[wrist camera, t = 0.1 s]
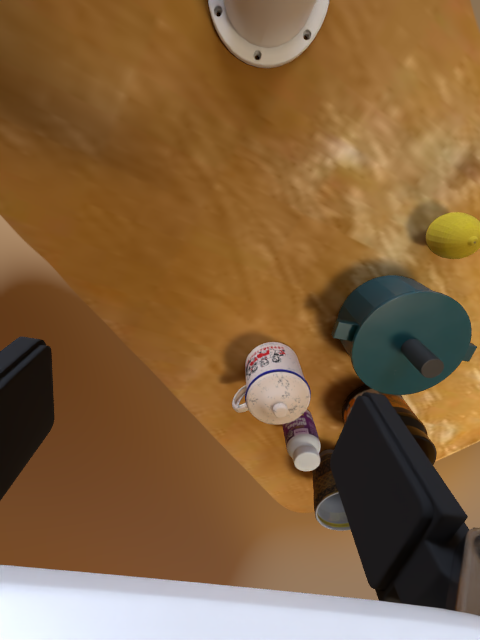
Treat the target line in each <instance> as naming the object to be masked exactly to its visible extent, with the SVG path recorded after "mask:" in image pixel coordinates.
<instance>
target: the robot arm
mask: <svg viewBox="0 0 480 640" xmlns="http://www.w3.org/2000/svg"><path fill="white" fill-rule="evenodd" d="M208 4H209V9H210V14H211V18H212V21H213V24H214V27H215V29H216V31H217V33H218V35H219V37H220V39H221V41H222V42H223V43H224V45H225V46H226V47H227V49H228V50H229V51H230V52H231V53H232V54H233V55H235V56H236V57H237V58H238V59H240V60H241V61H243V62H245V63H246V64H249V65H252V66H255V67H259V68H273V67H279V66H282V65H284V64H287V63H289V62H291V61H292V60H294V59H295V58H297V57H298V56H300V55H301V54H302V53H303V52H304V51H305V50H306V49H307V48H308V47H309V45H310V44H311V42H312V41H313V39H314V38H315V37H316V35H317V33H318V31H319V29H320V28H321V26H322V23H323V21H324V18H325V16H326V13H327V9H328V5H329V0H208ZM217 12H220V13H221V16H220V17H217V16H216V14H217ZM304 35H306V36H307V37H308V39H307V40H305V39H304V38H303V36H304ZM256 55H258V56H259V60H256V59H255V56H256ZM53 402H54V400H53V378H52V355H51V348H50V347H49V346H46V344H45V342H44V341H43V340H40V339H34V338H27V337H19V338H18V339H16V340H15V341H13V342H12V343H11V344H10V345H8V346H7V347H6V348H4V349H3V350H2V351H0V500H1V499H2V497H3V496H4V495H5V493H6V492H7V490H8V489H9V488H10V486H11V485H12V484H13V482H14V481H15V479H16V478H17V477H18V475H19V474H20V472H21V471H22V470H23V468H24V467H25V465H26V464H27V463H28V461H29V460H30V458H31V457H32V456H33V454H34V452H35V451H36V450H37V449H38V447H39V446H40V444H41V443H42V442H43V440H44V439H45V437H46V436H47V434H48V433H49V432H50V430H51V428H52V426H53V423H54V403H53ZM330 467H331V471H332V474H333V477H334V480H335V483H336V486H337V489H338V492H339V495H340V498H341V501H342V504H343V507H344V510H345V513H346V516H347V520H348V523H349V526H350V529H351V532H352V535H353V538H354V540H355V544H356V547H357V550H358V553H359V556H360V559H361V562H362V565H363V568H364V571H365V574H366V577H367V580H368V583H369V585H370V586H371V587H372V588H373V589H375V590H376V593H377V596H378V599H379V601H376V600H367V599H357V598H347V597H338V596H327V595H317V594H307V593H298V592H288V591H278V590H268V589H258V588H247V587H236V586H226V585H216V584H206V583H195V582H184V581H174V580H163V579H152V578H142V577H130V576H120V575H109V574H98V573H86V572H75V571H64V570H52V569H41V568H29V567H18V566H7V565H0V640H480V528H473V529H471V530H469V529H468V527H467V526H466V524H465V523H464V521H465V520H466V519H467V515H466V514H465V512H464V511H463V509H462V508H461V506H460V505H459V503H458V502H457V501H456V499H455V497H454V496H453V495H452V493H451V491H450V490H449V489H448V487H447V486H446V484H445V483H444V481H443V480H442V478H441V477H440V475H439V474H438V472H437V471H436V469H435V468H434V467H433V465H432V464H431V462H430V461H429V459H428V458H427V456H426V455H425V453H424V452H423V450H422V449H421V447H420V446H419V444H418V443H417V442H416V440H415V439H414V437H413V436H412V434H411V433H410V431H409V430H408V428H407V427H406V425H405V424H404V422H403V421H402V419H401V418H400V417H399V415H398V414H397V412H396V411H395V409H394V408H393V406H392V405H391V403H390V402H389V400H388V399H387V397H386V396H385V395H382V394H376V393H370V392H364V393H363V394H362V396H358V397H357V398H356V400H355V402H354V404H353V407H352V409H351V411H350V414H349V416H348V418H347V421H346V423H345V425H344V427H343V430H342V432H341V434H340V437H339V439H338V441H337V444H336V446H335V448H334V451H333V453H332V455H331V459H330Z"/></svg>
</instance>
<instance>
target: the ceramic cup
mask: <svg viewBox="0 0 480 640" xmlns="http://www.w3.org/2000/svg"><path fill="white" fill-rule="evenodd" d="M333 451H334V450H324V451H323V452H321V453H319V456H320V464H319V466H318V467H317V468H316V469H314V470H312V474H313V488H314V510H315V516H316V519H317V521H318V522H319V523H320V524H321V525H322V526H324V527H326V528H329V529H332V530H351V529H350V526H349V523H348V520H347V516H346V513H345V510H344V507H343V504H342V501H341V498H340V495H339V492H338V489H337V486H336V483H335V480H334V477H333V474H332V471H331V467H330V459H331V455H332V453H333Z"/></svg>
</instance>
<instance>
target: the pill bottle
mask: <svg viewBox="0 0 480 640" xmlns="http://www.w3.org/2000/svg"><path fill="white" fill-rule="evenodd" d="M283 430H284V436H285V441H286V447H287V451H288V453H289V455H290V456H291V457H292V458H293V461H294V465H295V467H296V468H297V469H299V470H301V471H311V470H314V469H316V468H317V467H318V466H319V464H320V456H319V452H320V448H321V445H320V441H319V437H318V434H317V431H316V427H315V424H314V421H313V418H312V415H311V413H310V412H309V411H308V410H306V411H305V412H304V413H303V414H302V415H301V416H300V417H299V418H297V419H296V420H294V421H292V422H289V423H286V424H283Z"/></svg>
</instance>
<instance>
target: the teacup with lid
mask: <svg viewBox="0 0 480 640" xmlns="http://www.w3.org/2000/svg"><path fill="white" fill-rule="evenodd" d="M245 372H246V385H245V386H243V387H242V388H240V389H239V390H238V392H237V393H236V394H235V396H234V398H233V401H232V406H233V408H234V410H235V411H236V412H240V413H241V412H245V411H247V410H249V411H250V412H251V414H252V415H253V416H254V417H256V418H257V419H258V420H260V421H262V422H265V423H268V424H276V425H277V424H286V423H289V422H292V421H294V420H296V419H297V418H299V417H300V416H301V415H302V414H303V413H304V412H305V411H306V409H307V407H308V405H309V402H310V398H311V392H310V388H309V385H308V383H307V382H306V380H305V378H304V375H303V373H302V370H301V367H300V364H299V361H298V358H297V355H296V354H295V352H294V351H293V350H292V349H291V348H290V347H288V346H287V345H284V344H282V343H277V342H269V343H264V344H261V345H259V346H257V347H256V348H255V349H253V350H252V351H251V352H250V354H249V355H248V357H247V359H246V363H245ZM244 395H245V401H246V402H245V403H243V404H241V405H239V403H240V400H241V399H242V397H243V396H244Z"/></svg>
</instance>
